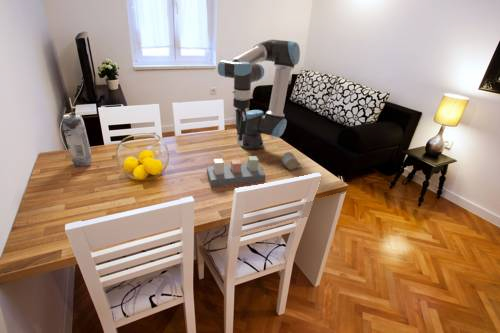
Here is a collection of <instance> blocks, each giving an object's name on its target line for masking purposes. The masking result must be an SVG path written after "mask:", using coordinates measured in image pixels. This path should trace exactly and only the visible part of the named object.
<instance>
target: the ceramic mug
mask: <svg viewBox="0 0 500 333" xmlns="http://www.w3.org/2000/svg"><path fill="white" fill-rule="evenodd" d="M281 161H282V163H283V165H284V167H285V168H286V169H288V170H290V171H291V170H292V171H293V170H295V169H297V168H298V169H299V168H301V166H302V164H301V163H300V162H299V161H298V159H297V158H296V156H295V155H294V153H292V152H291V151H289V152H285V153H284V154H283V155H282V156H281Z"/></svg>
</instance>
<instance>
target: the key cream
mask: <svg viewBox="0 0 500 333" xmlns="http://www.w3.org/2000/svg"><path fill="white" fill-rule="evenodd" d="M224 165H225V161H224V160H223V158H213V166H214V174H215V175H222V174H224Z"/></svg>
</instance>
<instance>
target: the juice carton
mask: <svg viewBox="0 0 500 333" xmlns="http://www.w3.org/2000/svg"><path fill="white" fill-rule="evenodd" d="M62 117H63V119H62V121H61V123H62V130H63V134H64V136H65V141H66V145H67V148H68V152H69V155H70V158H71V162H72V164H73V166H74V168H81V167H80V166H83V167H88V166H87V165H90V166H91V165H92V151H91V147H90V142H89V137H88V134H87V130H86V126H85V122H84V119H83V117H82V114H68V113H67V114H64V115H62Z"/></svg>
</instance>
